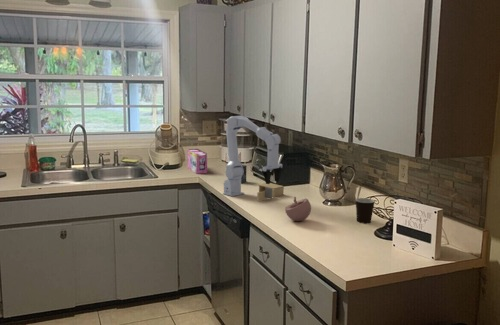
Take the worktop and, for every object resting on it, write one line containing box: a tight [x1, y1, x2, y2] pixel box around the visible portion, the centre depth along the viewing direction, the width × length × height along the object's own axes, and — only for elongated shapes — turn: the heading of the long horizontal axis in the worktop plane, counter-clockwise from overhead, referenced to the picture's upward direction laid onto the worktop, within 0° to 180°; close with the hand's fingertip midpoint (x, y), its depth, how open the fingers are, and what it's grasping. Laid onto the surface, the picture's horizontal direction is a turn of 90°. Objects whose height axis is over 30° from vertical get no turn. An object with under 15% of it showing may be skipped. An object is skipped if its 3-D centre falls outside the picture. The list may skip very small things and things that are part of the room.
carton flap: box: [256, 187, 275, 202], centre depth 264 cm, size 12×5×7 cm, turn 132°
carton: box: [258, 182, 285, 198], centre depth 278 cm, size 8×12×5 cm, turn 44°
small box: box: [234, 164, 247, 184], centre depth 308 cm, size 11×6×10 cm, turn 62°
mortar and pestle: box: [284, 196, 312, 222], centre depth 229 cm, size 12×12×12 cm
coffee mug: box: [355, 197, 375, 224], centre depth 230 cm, size 12×9×10 cm
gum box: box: [186, 148, 208, 175], centre depth 340 cm, size 24×8×14 cm, turn 23°
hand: (272, 182), depth 261 cm, fingers open, 7 cm apart
